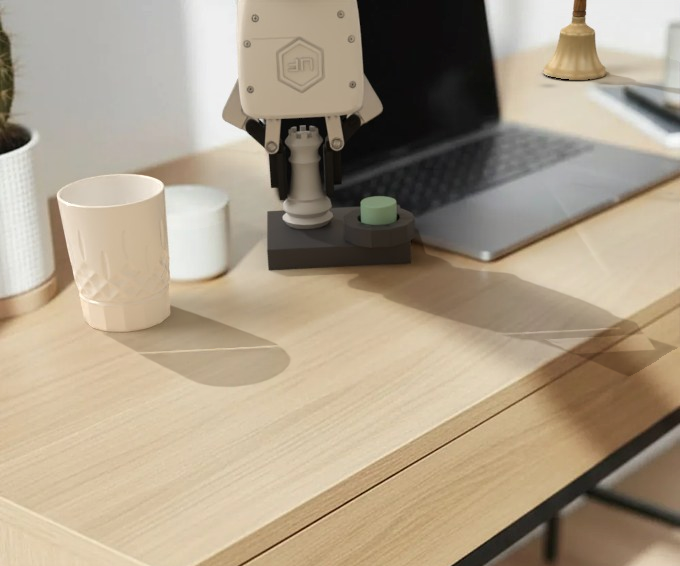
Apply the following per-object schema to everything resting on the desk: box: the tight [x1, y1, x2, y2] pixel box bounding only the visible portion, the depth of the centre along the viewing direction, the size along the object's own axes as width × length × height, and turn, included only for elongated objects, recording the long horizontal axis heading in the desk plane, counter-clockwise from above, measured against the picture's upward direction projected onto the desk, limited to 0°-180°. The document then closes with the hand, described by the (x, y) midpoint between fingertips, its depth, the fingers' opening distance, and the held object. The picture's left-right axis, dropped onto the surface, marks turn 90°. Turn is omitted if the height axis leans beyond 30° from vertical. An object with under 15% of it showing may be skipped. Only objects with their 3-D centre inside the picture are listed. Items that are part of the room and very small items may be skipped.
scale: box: [266, 204, 416, 271], centre depth 104 cm, size 12×11×4 cm
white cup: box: [56, 173, 171, 333], centre depth 91 cm, size 8×8×10 cm
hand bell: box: [542, 0, 607, 81], centre depth 153 cm, size 8×8×16 cm
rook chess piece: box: [282, 124, 333, 229], centre depth 103 cm, size 4×4×8 cm
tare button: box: [360, 195, 397, 225], centre depth 101 cm, size 3×3×2 cm
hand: (306, 192), depth 104 cm, fingers closed on rook chess piece, 3 cm apart
